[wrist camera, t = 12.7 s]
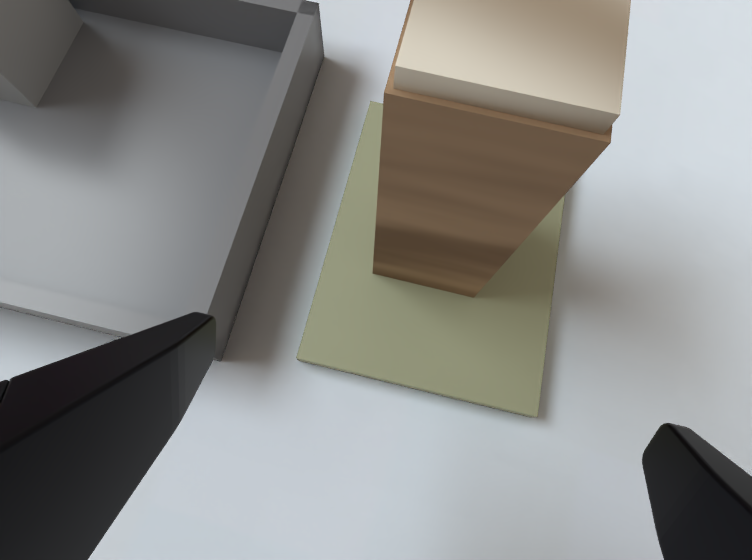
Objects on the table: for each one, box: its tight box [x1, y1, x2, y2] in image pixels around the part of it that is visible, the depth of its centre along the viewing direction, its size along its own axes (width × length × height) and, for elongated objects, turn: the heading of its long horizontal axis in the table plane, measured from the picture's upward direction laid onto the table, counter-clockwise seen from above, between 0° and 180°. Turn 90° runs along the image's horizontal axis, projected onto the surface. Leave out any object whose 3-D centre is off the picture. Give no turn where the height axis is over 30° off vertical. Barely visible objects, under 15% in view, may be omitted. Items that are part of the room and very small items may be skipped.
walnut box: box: [372, 0, 631, 298], centre depth 15 cm, size 4×4×12 cm
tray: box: [0, 0, 324, 361], centre depth 21 cm, size 17×22×3 cm
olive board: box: [296, 101, 565, 417], centre depth 21 cm, size 13×10×1 cm
